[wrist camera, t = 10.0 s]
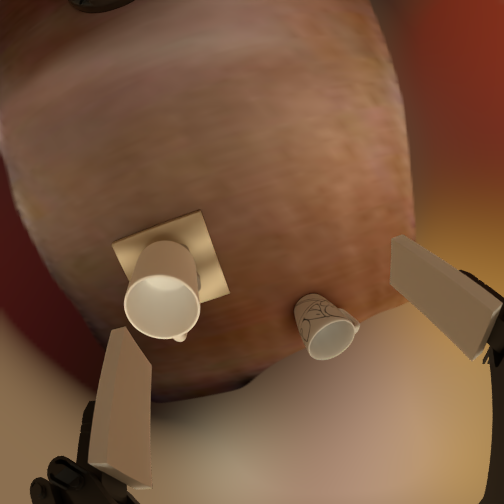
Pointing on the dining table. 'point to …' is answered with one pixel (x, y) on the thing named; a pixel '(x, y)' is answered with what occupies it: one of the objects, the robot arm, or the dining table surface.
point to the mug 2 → (324, 326)
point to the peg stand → (188, 235)
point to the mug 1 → (163, 292)
